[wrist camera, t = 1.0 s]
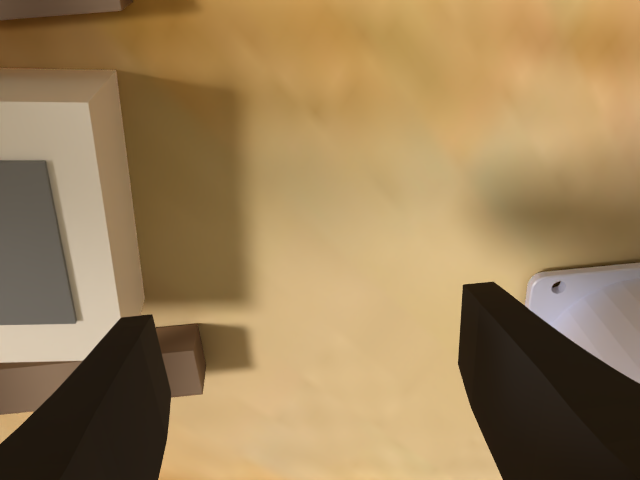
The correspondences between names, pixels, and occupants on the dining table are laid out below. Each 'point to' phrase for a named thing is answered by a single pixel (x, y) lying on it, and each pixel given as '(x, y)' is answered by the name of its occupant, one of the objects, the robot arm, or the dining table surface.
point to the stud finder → (64, 214)
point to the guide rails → (175, 341)
